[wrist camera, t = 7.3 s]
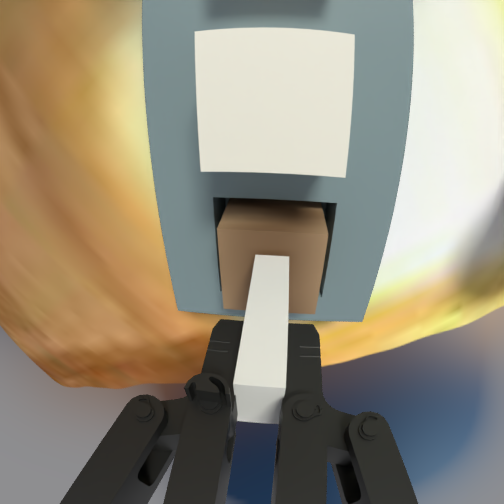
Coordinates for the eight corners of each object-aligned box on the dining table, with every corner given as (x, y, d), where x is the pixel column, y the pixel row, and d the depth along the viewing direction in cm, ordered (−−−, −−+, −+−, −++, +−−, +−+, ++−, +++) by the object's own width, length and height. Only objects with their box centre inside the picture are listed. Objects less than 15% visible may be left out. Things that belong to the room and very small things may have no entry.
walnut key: (234, 264, 19) (223, 308, 16) (231, 193, 16) (216, 228, 13) (311, 268, 18) (314, 314, 15) (319, 197, 16) (328, 234, 13)
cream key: (223, 144, 13) (200, 171, 10) (220, 43, 10) (194, 31, 7) (329, 148, 13) (345, 178, 9) (334, 46, 10) (354, 34, 7)
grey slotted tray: (193, 273, 22) (178, 310, 19) (176, -81, 8) (152, -105, 5) (353, 282, 21) (362, 321, 18) (377, -78, 7) (396, -104, 4)
